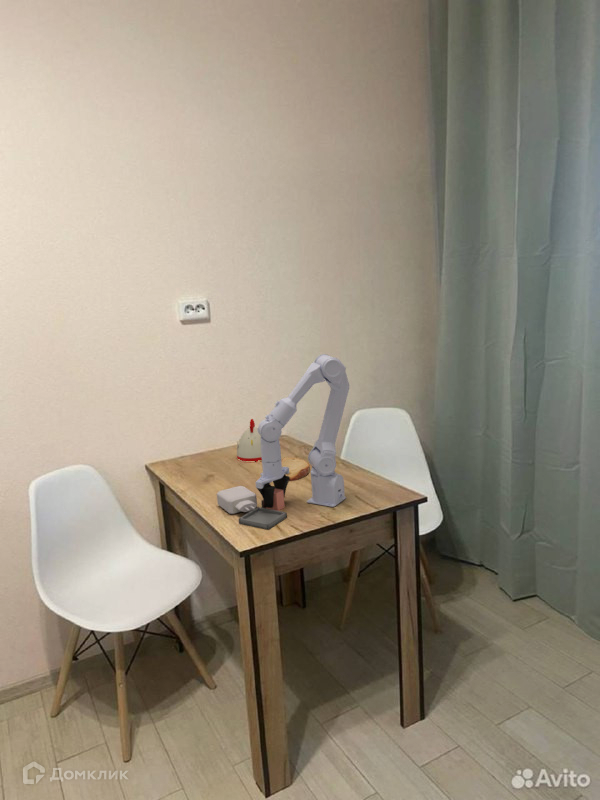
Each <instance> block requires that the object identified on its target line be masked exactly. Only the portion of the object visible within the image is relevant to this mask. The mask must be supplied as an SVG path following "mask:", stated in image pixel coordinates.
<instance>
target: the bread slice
mask: <svg viewBox="0 0 600 800" xmlns="http://www.w3.org/2000/svg"><path fill="white" fill-rule="evenodd" d="M281 462H282V467H289V474H285V475H286V476H289V477H290V480H289V482H292V481H293V482H294V481H299V480H300V479H302V478H304V477H305V478H306V477H307V476H308V475H309V474H310V472H311V464H310V463H309V462H307V461H306V460H304V459H302V458H297V457H289V456H288V457H284V458H281Z"/></svg>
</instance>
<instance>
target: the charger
mask: <svg viewBox="0 0 600 800" xmlns="http://www.w3.org/2000/svg"><path fill="white" fill-rule="evenodd" d="M216 501H217V505H218V506H219V507H220V508H222V509H223V510H225V512H227V513H228V514H229V515H233V514H238V513H241V512H243V513H249V512H250V511H252V510H254V509H255V508H257V507H258V499H257V494H256V493H255V492H253V491H251V490H250V489H249V488H247V487H245V486H243V485H238V486H233V487H230V488H227V489H221V490H219V491H218V492H217V493H216Z"/></svg>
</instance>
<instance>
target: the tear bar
mask: <svg viewBox="0 0 600 800" xmlns="http://www.w3.org/2000/svg"><path fill="white" fill-rule="evenodd" d="M260 502H261V506H260V507H261V508H266V505H265V502H264V500H263V499H261V501H260Z"/></svg>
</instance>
